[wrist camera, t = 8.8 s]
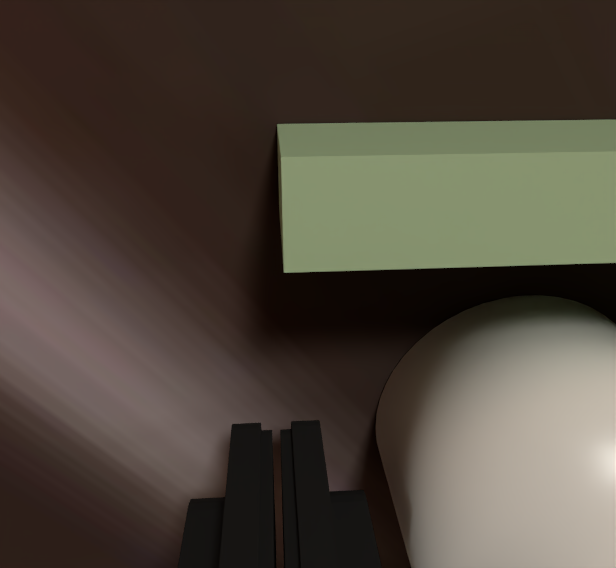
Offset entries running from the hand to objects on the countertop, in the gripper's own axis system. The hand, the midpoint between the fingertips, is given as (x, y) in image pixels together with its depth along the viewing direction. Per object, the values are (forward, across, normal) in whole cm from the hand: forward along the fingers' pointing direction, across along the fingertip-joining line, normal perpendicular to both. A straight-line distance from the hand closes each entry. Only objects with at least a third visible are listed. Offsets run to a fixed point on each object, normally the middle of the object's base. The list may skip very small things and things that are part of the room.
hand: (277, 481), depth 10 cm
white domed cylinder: (+2, -5, 0) cm, 5 cm away
